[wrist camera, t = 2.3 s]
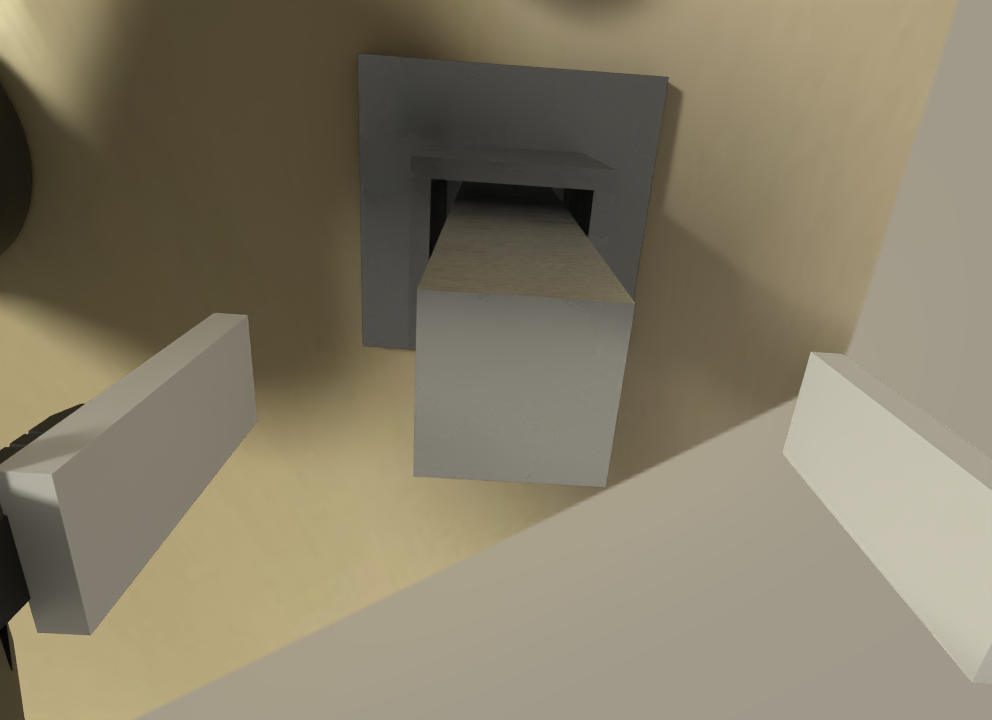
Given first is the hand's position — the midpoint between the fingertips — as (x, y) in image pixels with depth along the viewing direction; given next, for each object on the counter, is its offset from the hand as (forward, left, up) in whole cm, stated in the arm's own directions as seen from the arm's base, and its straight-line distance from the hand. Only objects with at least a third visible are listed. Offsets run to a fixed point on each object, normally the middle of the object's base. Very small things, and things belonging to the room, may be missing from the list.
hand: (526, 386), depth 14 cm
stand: (0, 0, -23) cm, 23 cm away
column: (0, 0, -21) cm, 21 cm away
